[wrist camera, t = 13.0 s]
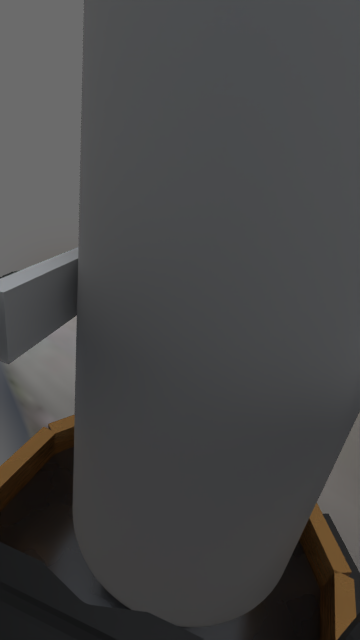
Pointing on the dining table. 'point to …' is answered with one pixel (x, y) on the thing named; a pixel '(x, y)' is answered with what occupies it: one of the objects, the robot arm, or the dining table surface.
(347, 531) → the dining table surface
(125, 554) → the cylinder vase
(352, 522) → the dining table surface
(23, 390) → the dining table surface
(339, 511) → the dining table surface
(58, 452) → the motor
